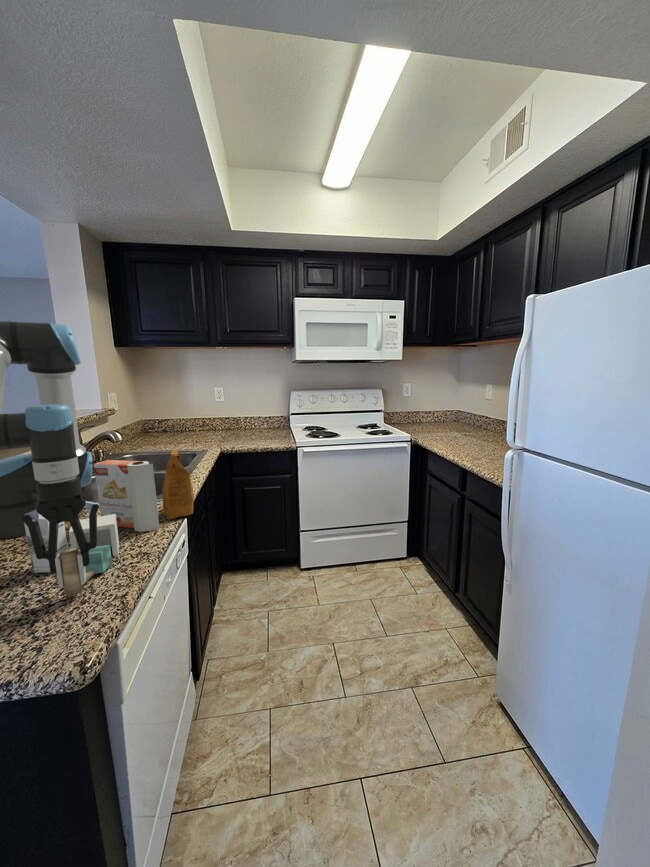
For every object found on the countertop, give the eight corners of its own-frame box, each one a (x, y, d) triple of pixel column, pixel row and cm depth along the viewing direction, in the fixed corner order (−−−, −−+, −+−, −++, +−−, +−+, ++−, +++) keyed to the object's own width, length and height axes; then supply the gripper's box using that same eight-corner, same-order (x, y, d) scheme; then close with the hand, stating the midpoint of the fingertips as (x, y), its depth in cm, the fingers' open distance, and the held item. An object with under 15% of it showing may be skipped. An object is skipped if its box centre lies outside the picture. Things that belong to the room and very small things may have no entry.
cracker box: (101, 526, 116) (92, 463, 112) (116, 519, 122) (108, 459, 118) (136, 529, 112) (128, 464, 109) (150, 522, 118) (143, 460, 115)
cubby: (77, 551, 99) (73, 520, 98) (119, 543, 104) (115, 513, 102) (73, 564, 92) (68, 531, 91) (118, 555, 97) (114, 523, 95)
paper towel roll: (132, 528, 114) (124, 462, 110) (152, 522, 118) (145, 459, 114) (138, 535, 109) (130, 466, 105) (159, 529, 113) (152, 463, 109)
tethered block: (90, 566, 91) (86, 532, 90) (112, 563, 92) (108, 529, 91) (57, 596, 76) (51, 556, 76) (82, 593, 77) (77, 552, 76)
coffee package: (193, 505, 134) (188, 447, 130) (195, 516, 122) (190, 454, 119) (164, 509, 130) (158, 450, 126) (164, 522, 118) (157, 457, 115)
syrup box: (71, 561, 94) (63, 508, 92) (55, 573, 88) (46, 517, 86) (49, 562, 94) (40, 509, 91) (31, 574, 88) (22, 518, 86)
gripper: (1, 490, 68) (21, 603, 71) (102, 477, 75) (115, 580, 79) (13, 480, 74) (30, 584, 78) (104, 469, 82) (116, 564, 86)
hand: (73, 581), depth 78 cm, fingers closed on tethered block, 3 cm apart
